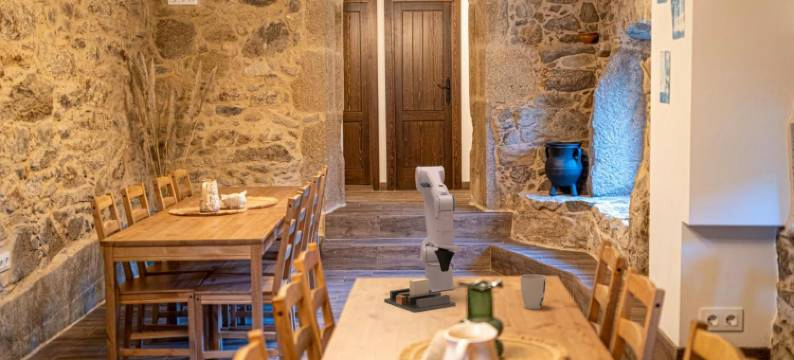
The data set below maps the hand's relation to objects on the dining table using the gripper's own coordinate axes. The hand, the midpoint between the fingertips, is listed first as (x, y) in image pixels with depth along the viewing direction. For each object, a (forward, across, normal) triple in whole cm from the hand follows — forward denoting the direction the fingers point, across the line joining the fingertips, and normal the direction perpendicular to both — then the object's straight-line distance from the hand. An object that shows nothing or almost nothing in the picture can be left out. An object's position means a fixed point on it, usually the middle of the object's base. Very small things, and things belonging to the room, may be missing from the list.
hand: (444, 271), depth 302 cm
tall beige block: (+8, +1, -11) cm, 14 cm away
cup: (+10, +26, +16) cm, 32 cm away
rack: (+9, +1, -11) cm, 15 cm away
